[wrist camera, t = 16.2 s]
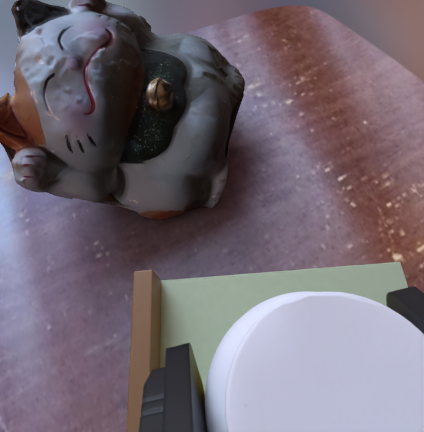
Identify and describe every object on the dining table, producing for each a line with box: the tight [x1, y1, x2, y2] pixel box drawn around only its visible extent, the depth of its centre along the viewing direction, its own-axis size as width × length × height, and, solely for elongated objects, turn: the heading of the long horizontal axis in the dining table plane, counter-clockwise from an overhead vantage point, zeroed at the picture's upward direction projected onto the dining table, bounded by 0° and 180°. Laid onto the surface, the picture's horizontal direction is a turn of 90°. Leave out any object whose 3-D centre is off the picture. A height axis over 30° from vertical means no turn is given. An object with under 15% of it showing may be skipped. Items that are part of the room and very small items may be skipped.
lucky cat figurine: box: [0, 0, 245, 220], centre depth 25 cm, size 15×12×14 cm
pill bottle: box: [205, 291, 424, 432], centre depth 12 cm, size 6×6×11 cm
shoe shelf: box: [127, 262, 408, 432], centre depth 18 cm, size 14×12×7 cm
